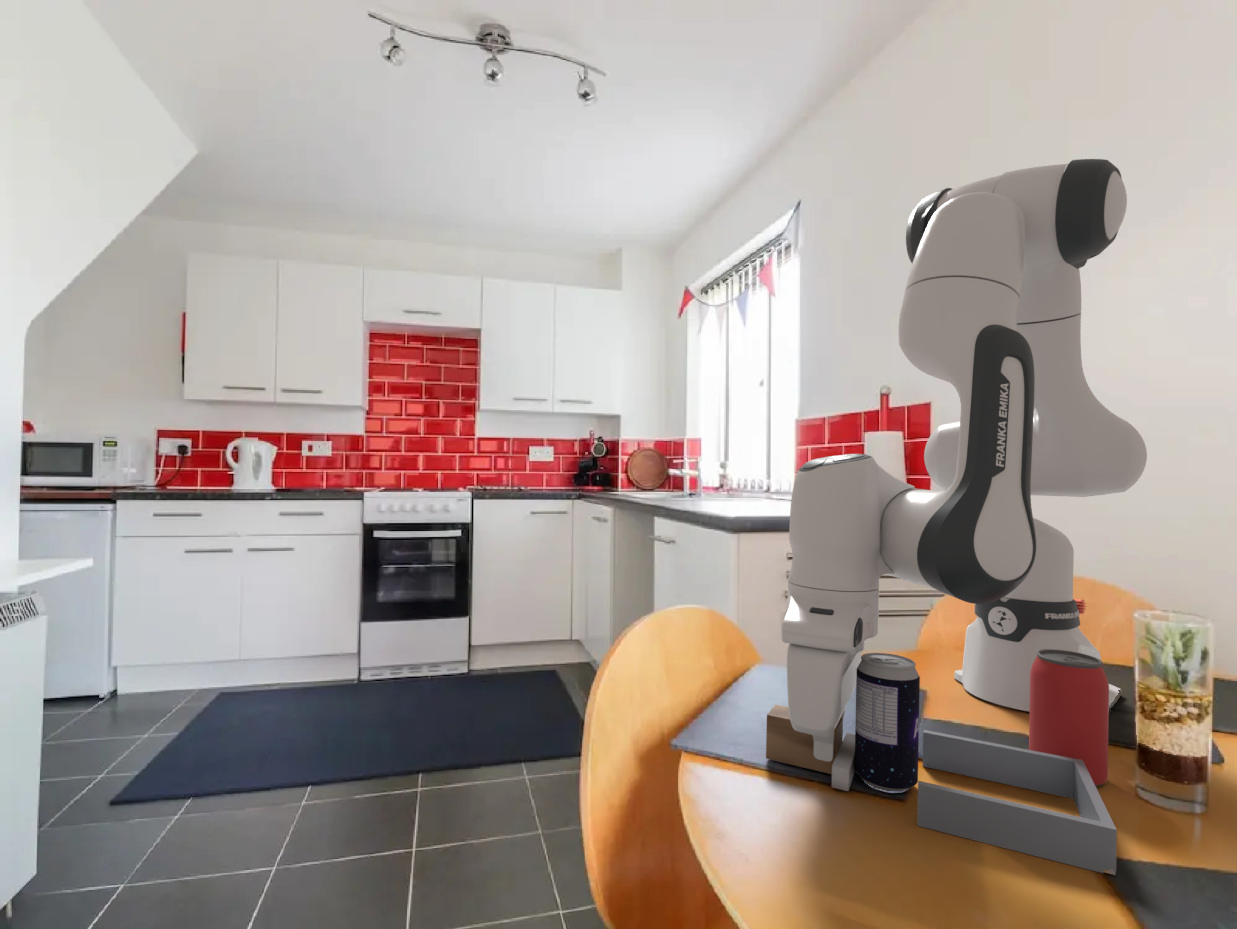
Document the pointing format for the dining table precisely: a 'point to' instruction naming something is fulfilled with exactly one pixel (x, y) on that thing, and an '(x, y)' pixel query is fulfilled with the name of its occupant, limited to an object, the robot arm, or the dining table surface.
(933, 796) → the box
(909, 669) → the beverage can
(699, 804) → the dining table surface
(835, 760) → the brown block
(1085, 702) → the beer can
